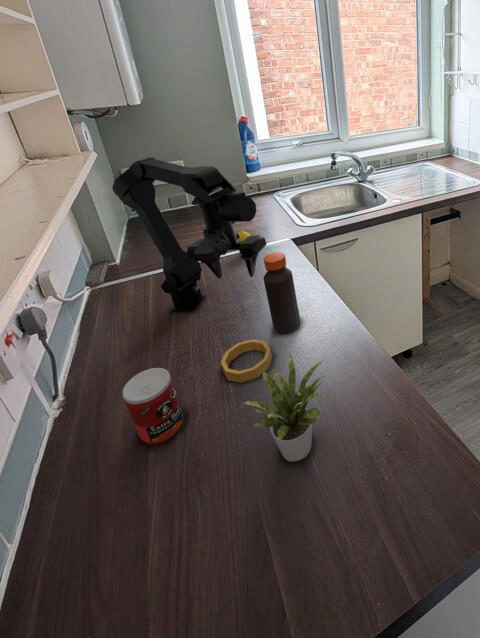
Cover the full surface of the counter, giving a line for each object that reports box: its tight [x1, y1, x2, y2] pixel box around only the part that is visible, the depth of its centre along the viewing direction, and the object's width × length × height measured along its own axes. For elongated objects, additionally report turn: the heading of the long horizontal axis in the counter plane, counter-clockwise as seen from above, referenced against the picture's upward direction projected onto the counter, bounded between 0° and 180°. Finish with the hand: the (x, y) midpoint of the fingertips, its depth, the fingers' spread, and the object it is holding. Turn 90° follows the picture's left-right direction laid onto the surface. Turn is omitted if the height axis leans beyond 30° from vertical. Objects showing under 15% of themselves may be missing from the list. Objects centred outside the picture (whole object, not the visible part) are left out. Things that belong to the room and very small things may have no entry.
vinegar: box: [262, 251, 301, 335], centre depth 98 cm, size 7×7×20 cm
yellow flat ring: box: [220, 339, 273, 384], centre depth 90 cm, size 10×11×2 cm
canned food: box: [122, 367, 184, 445], centre depth 74 cm, size 8×8×11 cm
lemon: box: [237, 230, 251, 242], centre depth 139 cm, size 6×6×8 cm
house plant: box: [240, 353, 330, 463], centre depth 68 cm, size 14×14×16 cm
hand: (236, 277), depth 101 cm, fingers open, 9 cm apart
